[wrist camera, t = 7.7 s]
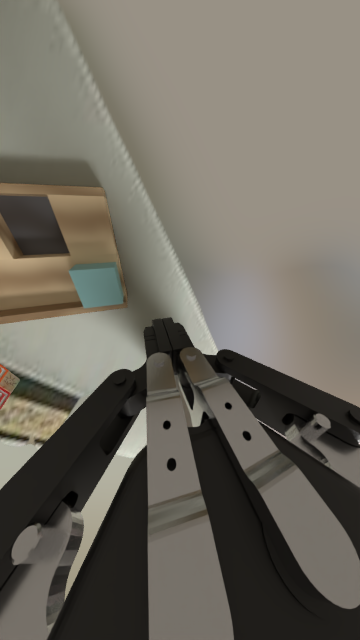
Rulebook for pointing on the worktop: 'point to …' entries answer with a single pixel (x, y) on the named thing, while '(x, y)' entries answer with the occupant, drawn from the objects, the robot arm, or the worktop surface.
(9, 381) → the stack of blocks
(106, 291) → the block
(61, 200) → the board
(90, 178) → the worktop surface
